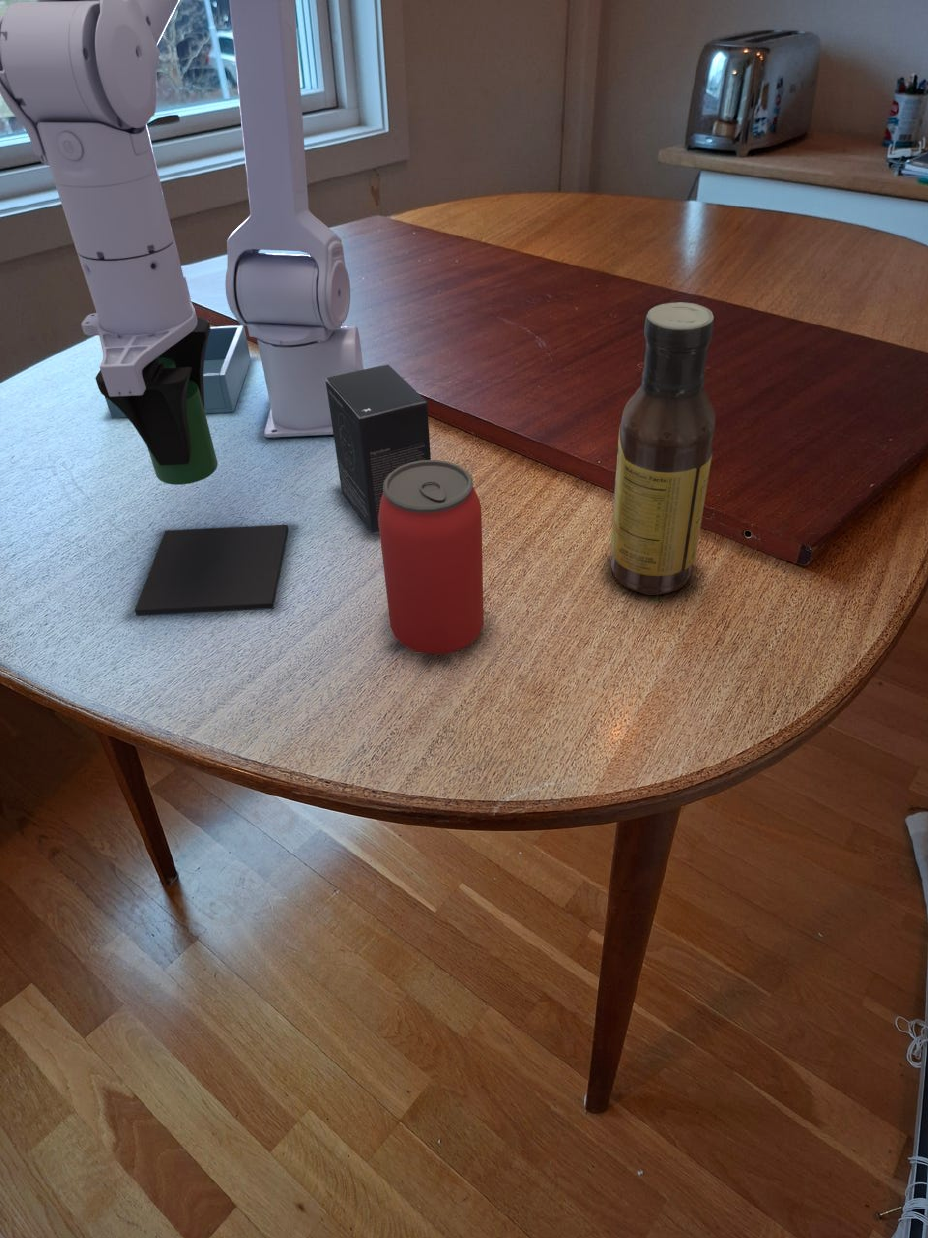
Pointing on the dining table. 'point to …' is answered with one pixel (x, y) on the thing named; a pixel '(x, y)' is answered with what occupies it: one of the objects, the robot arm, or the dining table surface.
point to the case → (219, 370)
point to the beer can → (432, 556)
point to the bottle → (200, 440)
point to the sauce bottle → (664, 454)
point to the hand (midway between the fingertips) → (182, 443)
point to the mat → (214, 570)
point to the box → (375, 433)
